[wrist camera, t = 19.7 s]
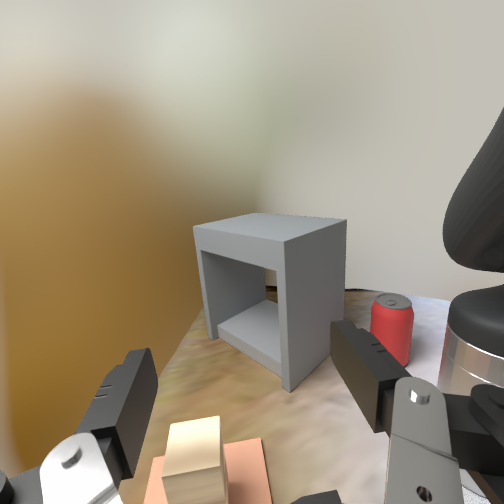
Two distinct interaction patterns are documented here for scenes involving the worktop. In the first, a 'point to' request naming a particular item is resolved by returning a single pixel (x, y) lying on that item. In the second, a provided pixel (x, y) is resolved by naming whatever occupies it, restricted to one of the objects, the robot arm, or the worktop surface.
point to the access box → (288, 287)
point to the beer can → (393, 324)
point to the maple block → (196, 463)
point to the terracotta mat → (239, 475)
